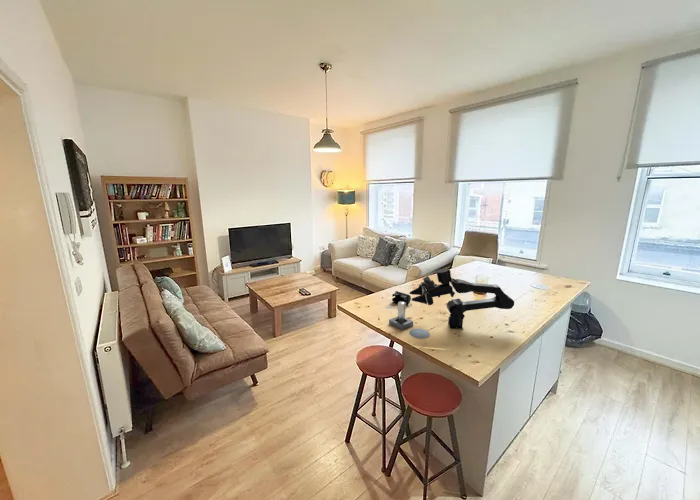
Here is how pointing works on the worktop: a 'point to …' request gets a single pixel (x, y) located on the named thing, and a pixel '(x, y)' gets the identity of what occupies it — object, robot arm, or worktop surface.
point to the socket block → (398, 325)
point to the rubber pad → (419, 333)
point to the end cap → (401, 298)
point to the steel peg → (401, 312)
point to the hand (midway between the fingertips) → (410, 296)
